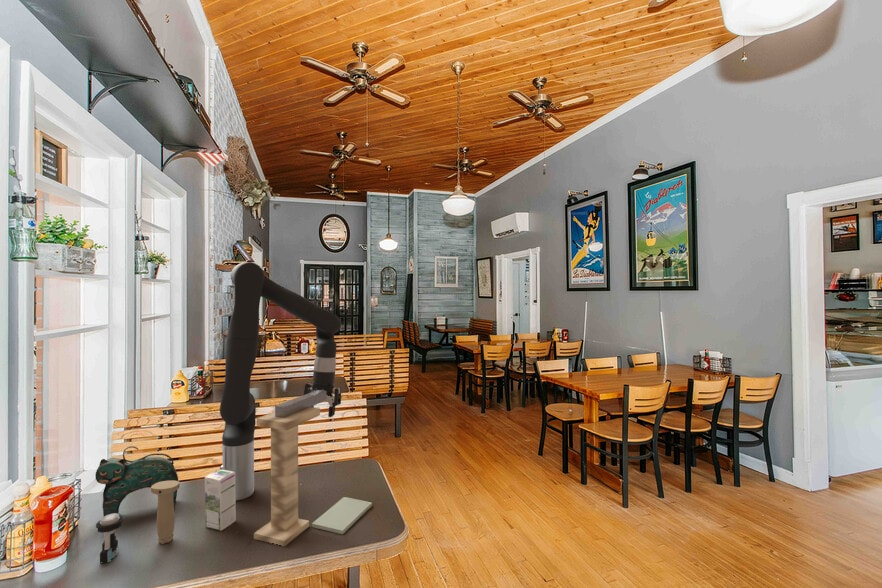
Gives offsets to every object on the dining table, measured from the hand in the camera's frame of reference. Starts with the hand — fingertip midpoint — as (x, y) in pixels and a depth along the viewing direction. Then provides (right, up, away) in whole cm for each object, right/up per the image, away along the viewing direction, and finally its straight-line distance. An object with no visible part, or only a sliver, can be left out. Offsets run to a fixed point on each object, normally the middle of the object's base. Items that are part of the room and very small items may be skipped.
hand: (320, 414), depth 150 cm
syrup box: (-19, -22, -31) cm, 43 cm away
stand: (0, -22, -33) cm, 40 cm away
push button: (-39, -23, -45) cm, 64 cm away
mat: (+14, -22, -26) cm, 37 cm away
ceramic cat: (-48, -22, -24) cm, 58 cm away
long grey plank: (+3, +10, -27) cm, 29 cm away
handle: (-30, -22, -39) cm, 54 cm away
